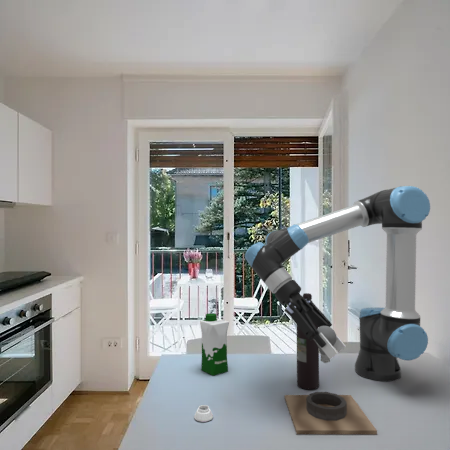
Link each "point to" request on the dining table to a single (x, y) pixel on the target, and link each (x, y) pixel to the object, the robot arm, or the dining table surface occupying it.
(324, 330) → the light bulb
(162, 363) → the dining table surface
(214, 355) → the milk carton
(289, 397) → the lamp holder
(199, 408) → the lidless jar
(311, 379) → the wine bottle
